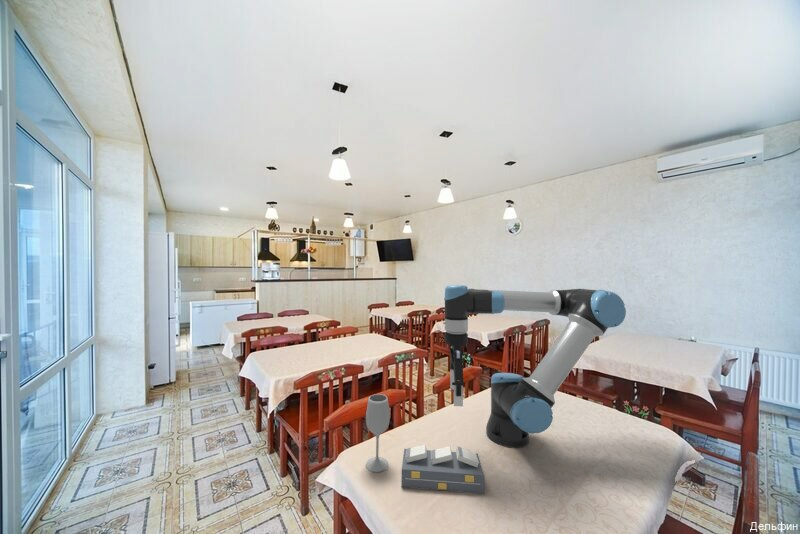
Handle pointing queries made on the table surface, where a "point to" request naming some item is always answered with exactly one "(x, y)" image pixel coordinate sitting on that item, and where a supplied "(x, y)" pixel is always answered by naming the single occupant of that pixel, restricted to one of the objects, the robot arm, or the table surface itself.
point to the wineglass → (377, 427)
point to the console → (442, 475)
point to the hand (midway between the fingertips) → (456, 396)
